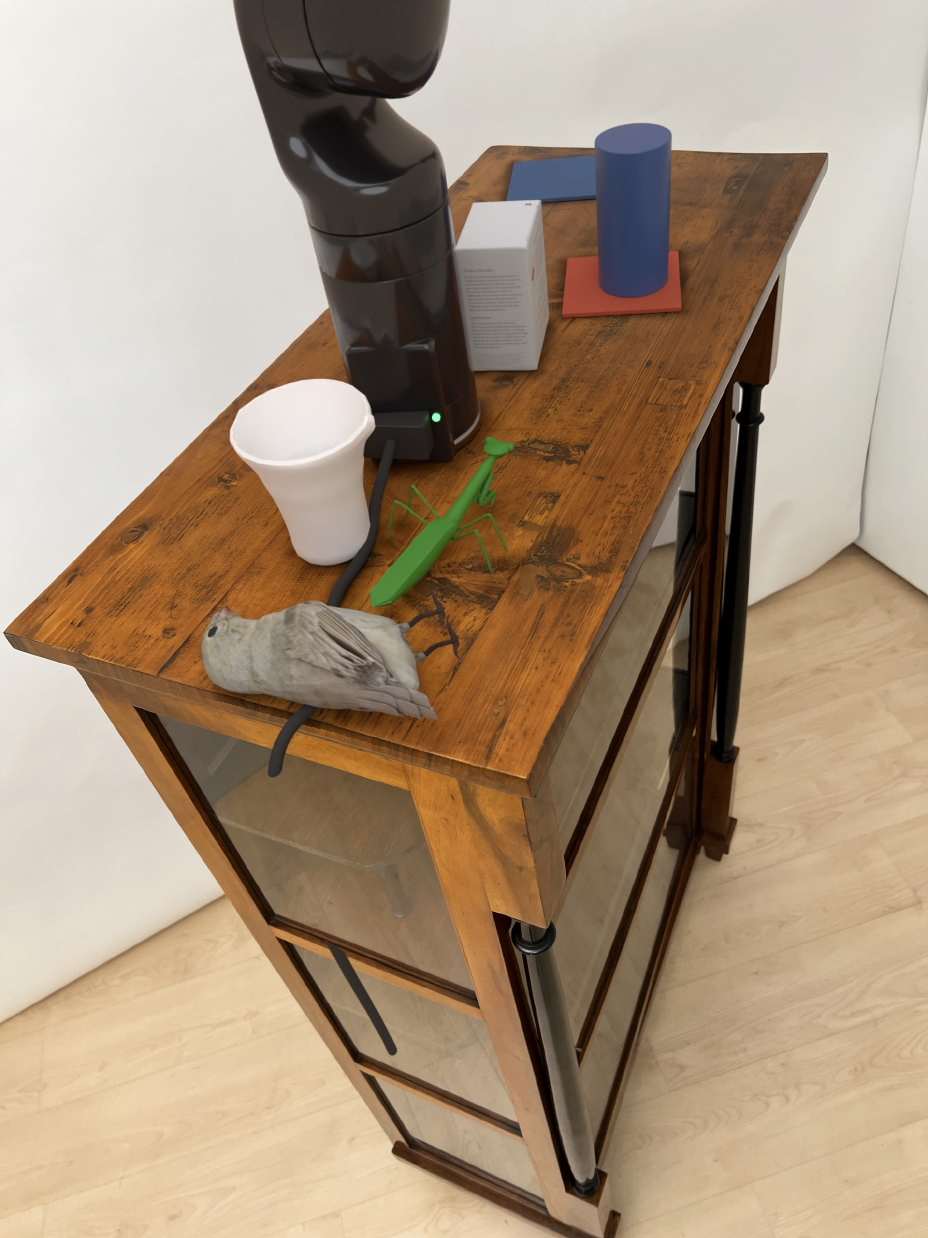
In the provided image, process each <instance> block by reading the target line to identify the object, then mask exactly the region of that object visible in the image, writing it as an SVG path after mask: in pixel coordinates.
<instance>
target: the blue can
mask: <svg viewBox="0 0 928 1238" xmlns="http://www.w3.org/2000/svg"><path fill="white" fill-rule="evenodd" d="M672 145H673V134H672V131H671V130H670V129H669V128H668V127H666V126H664V125H661V124H658V123H650V122H632V123H625V124H620V125H616V126H613V127H610V128H608V129H605V130H604V131H602V132H600V133H599V134H598V135H596V137H595V139H594V155H595V175H596V199H595V201H596V202H595V205H596V236H597V237H596V238H597V239H596V241H597V256H598V274H599V286H600V287H601V289H602V290H603V291H605V292H606V293H608V294H611V295H614V296H618V297H640V296H645V295H649V294H652V293H654V292H656V291H658V290H660V289H661V288H663V287H664V286H665V285H666V283H667V281H668V265H669V251H670V227H671V226H670V224H671V223H670V222H671V221H670V219H671V187H672V186H671V185H672V184H671V183H672V182H671V181H672V151H673V150H672V149H673V147H672Z"/></svg>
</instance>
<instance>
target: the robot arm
mask: <svg viewBox="0 0 928 1238" xmlns="http://www.w3.org/2000/svg"><path fill="white" fill-rule="evenodd" d="M451 3H452V0H232V6H233V11H234V12H233V13H234V17H235V23H236V27H237V32H238V36H239V40H240V44H241V48H242V51H243V54H244V58H245V62H246V64H247V69H248V71H249V75H250V78H251V80H252V84H253V87H254V91H255V94H256V96H257V99H258V104H259V106H260V110H261V113H262V115H263V118H264V122H265V125H266V128H267V131H268V135H269V139H270V141H271V145H272V148H273V150H274V154H275V156H276V159H277V162H278V164H279V167H280V169H281V171H282V173H283V175H284V176H285V178H286V180H287V181H288V183H289V185H291V187H292V189H293V190H294V191H295V193H296V194H297V195H298V197H299V199H300V201H301V204H302V207H303V210H304V211H303V212H304V215H305V218H306V222H307V225H308V230H309V234H310V238H311V241H312V245H313V249H314V253H315V256H316V261H317V266H318V269H319V273H320V277H321V281H322V286H323V289H324V293H325V297H326V300H327V304H328V308H329V312H330V316H331V320H332V324H333V328H334V331H335V336H336V340H337V344H338V348H339V350H340V351H339V353H340V355H341V359H342V364H343V367H344V371H345V372H344V373H345V375H346V379H347V384H349V385H352V386H353V387H355V388H356V389H357V390H358V391H360V392H361V393H362V394H364V395H365V396H366V398H367V401H368V403H369V405H370V408H371V414H372V415H373V417H374V422H375V429H374V431H373V432H372V433H371V435H370V436H369V437H368V439H367V440H366V442H365V445H364V452H363V456H364V459H365V458H366V459H367V458H368V459H370V461H371V463H372V464H379V465H378V468H377V472H376V475H375V479H374V482H373V487H372V489H371V490H372V491H371V495H370V500H369V506H368V511H369V520H370V528H369V532H368V536H367V539H366V541H365V543H364V544H363V546H362V547H361V548H360V549H359V551H358V553H357V554H356V556H355V557H354V558H352V560H351V562H350V563H349V565H348V566H347V567H346V569H345V570H344V571H343V572H342V574H341V575H340V577H339V578H338V580H337V581H336V582H335V584H334V585H333V588H332V590H331V592H330V594H329V597H328V599H327V603H326V605H327V606H332V607H337V608H340V605H341V603H342V600H343V597H344V595H345V593H346V591H347V589H348V588H349V586H350V585H351V583H352V581H353V580H354V579H355V577H356V576H357V574H358V573H359V572H360V571H361V569H362V568H363V566H364V565H365V563H366V562H367V560H368V559H369V556H370V555H371V553H372V550H373V547H374V545H375V542H376V539H377V536H378V532H379V525H380V517H381V509H382V502H383V497H384V493H385V489H386V485H387V482H388V477H389V475H390V470H391V467H392V464H399V463H402V464H403V463H404V464H405V463H409V464H410V463H412V464H413V463H432V462H433V463H435V462H437V463H438V462H439V463H440V462H452V461H453V460H454V458H455V454H456V452H457V451H459V450H461V449H462V448H463V447H464V446H466V445H467V444H468V443H469V442H470V441H472V440H473V438H474V437H475V436H476V435H477V433H478V432H479V430H480V428H481V425H482V420H483V416H482V409H481V403H480V401H479V399H478V391H477V384H476V377H475V371H474V370H473V363H472V356H471V349H470V342H469V335H468V328H467V321H466V314H465V307H464V300H463V293H462V286H461V279H460V272H459V265H458V258H457V251H456V245H457V243H456V237H455V236H456V235H455V230H454V222H453V215H452V207H451V202H450V194H449V189H448V188H449V187H448V182H447V181H448V180H447V173H446V167H445V162H444V159H443V155H442V152H441V150H440V148H439V146H437V144H436V143H435V142H434V140H433V139H431V138H430V137H429V136H428V135H427V134H425V133H424V132H422V130H419V129H418V128H417V127H415V126H414V125H412V124H411V123H410V122H409V121H407V120H406V119H405V118H403V117H402V115H400V114H399V113H398V112H397V111H396V110H395V109H394V108H393V107H392V105H390V103H389V101H387V100H400V99H406V98H409V97H411V96H413V95H415V94H416V93H418V92H419V91H421V90H422V89H423V88H424V87H425V86H426V84H427V83H428V82H429V80H430V79H431V78H432V76H433V74H434V73H435V71H436V68H437V67H438V65H439V62H440V59H441V57H442V54H443V50H444V46H445V43H446V40H447V39H446V38H447V34H448V29H449V21H450V12H451ZM319 709H320V707H314V706H311V705H307V704H301V706H300V707H299V708H298V709H297V710H296V711H294V713H293V714H292V715H291V716H290V717H289V719H287V721H286V722H284V725H283V726H282V728H281V730H280V731H279V732H278V734H277V736H276V738H275V740H274V743H273V746H272V749H271V752H270V755H269V761H268V768H267V775H268V777H269V778H276V777H278V776H279V775H280V774H281V773H282V771H283V766H284V760H285V755H286V753H287V749H288V747H289V745H290V743H291V740H292V739H293V737H294V735H295V734H296V733H297V731H298V730H299V729H300V728H301V727H302V726H303V725H304V723H305V722H307V720H308V719H309V718H311V717H312V716H314V714H315V713H316V712H317V711H318V710H319ZM324 942H325V944H326V945H327V948H328V949H329V951H330V954H331V955H332V957H333V959H334V960H335V962H336V964H337V966H338V968H339V969H340V971H341V973H342V974H343V976H344V978H345V979H346V982H347V983H348V984H349V987H351V989H352V991H353V993H354V994H355V996H356V998H357V1000H358V1001H359V1003H360V1004H361V1006H362V1008H363V1009H364V1011H365V1013H366V1015H367V1017H368V1018H369V1020H370V1021H371V1023H372V1025H373V1027H374V1029H375V1031H376V1032H377V1034H378V1036H379V1038H380V1040H381V1041H382V1044H383V1045H384V1048H385V1049H386V1053H388V1055H389V1056H390V1057H391V1056H392V1057H393V1056H396V1055H397V1053H398V1048H397V1045H396V1044H395V1042H394V1041H395V1040H394V1039H393V1038H392V1035H391V1033H390V1031H389V1029H388V1027H387V1025H386V1024H385V1022H384V1020H383V1017H382V1016H381V1014H380V1013H379V1011H378V1009H377V1007H376V1005H375V1003H374V1001H373V1000H372V998H371V997H370V995H369V992H368V991H367V989H366V988H365V986H364V984H363V983H362V981H361V979H360V977H359V975H358V974H357V972H356V970H355V968H354V967H353V965H352V963H351V961H350V960H349V957H348V955H347V954H346V952H345V951H343V950H342V949H340V948H339V947H338V946H336V945H335V944H333V943H332V942H330V941H328V940H327V939H325V938H324Z"/></svg>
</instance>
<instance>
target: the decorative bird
mask: <svg viewBox="0 0 928 1238" xmlns="http://www.w3.org/2000/svg"><path fill="white" fill-rule="evenodd" d="M435 585H436V583H435V582H434V583H433V585H432V586H431V587H432V588H431V598H432V600H433V604H434V605H435V609H432V610H429V611H426V612H422V613H420V614H418V615H416V616H414V617H413V618H412V619H411V620H410V621H408V622H402V623H397V622H396V621H395V620H394V619H392V618H390V617H387V616H383V615H379V614H373V613H369V612H366V611H363V610H359V609H353V608H346V607H345V608H344V607H339V608H337V607H332V606H327V603H324V602H322V601H319V600H315V599H314V600H313V599H312V600H306V601H302V602H300V603H298V604H295V605H293V606H290V607H287V608H284V609H282V610H280V611H276V612H271V613H267V614H266V615H263V616H261V617H260V618H259V619H248V618H243V617H241V616H240V615H239V614H237V612H235V610H233V609H231V608H230V607H229V606H228V605H225V606H222V607H221V609H219V610H218V611H217V612H216V613H215V614H213V615H212V617H211V619H210V621H209V622H208V624H207V626H206V627H205V629H204V631H203V633H202V638H201V644H200V660H201V662H202V666H203V668H204V671H205V672H206V675H207V676H208V677H207V678H208V679H209V680H210V682H212V683H213V684H215V685H216V686H218V687H220V688H222V689H223V690H225V691H229V692H231V693H236V694H245V695H268V696H271V697H274V698H275V697H276V698H279V699H283V700H287V701H290V702H293V703H296V704H300V705H304V704H307V705H311V706H314V707H320V708H321V709H322V708H323V709H332V710H333V709H334V710H346V709H348V710H352V711H359V712H369V713H370V712H371V713H372V712H379V713H383V714H387V715H391V716H395V717H402V718H406V716H408V717H412V718H416V719H419V720H422V718H427V719H431V720H435V721H440V719H439V717H438V716H437V714H436V713H435V711H436V710H435V708H434V707H432V706H431V704H430V699H429V698H428V696H427V695H426V694H424V693H422V692H420V691H419V689H420V687H421V685H420V683H421V682H420V679H419V675H418V671H417V664H419V663H421V662H423V661H425V660H426V658H428V657H429V656H430V655H431V654H432V653H433V652H435V651H436V650H437V649H439V648H443V647H445V646H449V645H452V651H453V654H454V655H455V657H456V658H457V659H459V660H460V661H462V660H463V659H462V658H461V657H460V656H459V654H458V651H459V650H458V649H459V647H460V641H459V639H460V636H459V635H457V633H456V632H455V631H454V629H453V628H452V626H453V621H454V619H452V620H451V621H450V622H449V618H450V614H448V615H447V617H446V611H445V609H446V607H445V606H443V604H442V602H441V601H440V600H439V598H438V594H439V591H440V590H439V589H437V591H436V592H435ZM433 616H438V617H437V618H438V623H439V625H440V626H441V628H442V629H443V630H445V631H447V632H448V634H449V636H450V639H447V640H442V641H439V642H436V643H433V644H432V645H430V646H429V647H427V649H426V650H424V651H421V652H415V653H413V651H412V648H411V644H410V642H409V639H408V637H407V635H406V633H407V632H409V631H410V630H411V629H412V628H413V627H415V626H416V624H418V623H419V622H420V621H422V620H423V619H426V618H430V617H433ZM445 618H446V624H445V625H446V627H445V626H444V619H445ZM320 708H319V709H320Z"/></svg>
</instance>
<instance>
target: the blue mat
mask: <svg viewBox="0 0 928 1238" xmlns="http://www.w3.org/2000/svg"><path fill="white" fill-rule="evenodd" d="M593 199H594V200H596V175H595V154H591V155H581V156H580V155H579V156H567V157H557V158H556V157H555V158H546V159H545V158H544V159H534V160H522V161H514V162H513V166H512V172H511V174H510V180H509V184H508V189H507V194H506V199H505V201H524V200H541V204H542V203H543V204H544V203H556V202H567V201H582V200H593Z"/></svg>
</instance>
